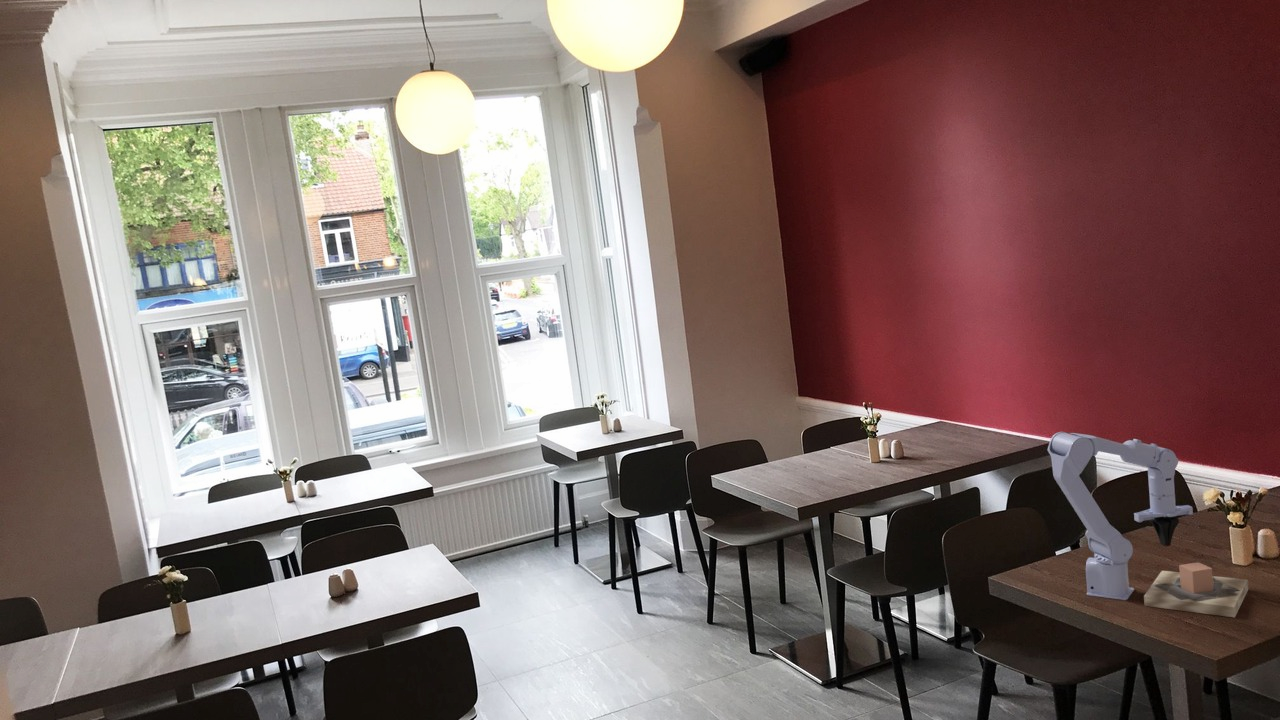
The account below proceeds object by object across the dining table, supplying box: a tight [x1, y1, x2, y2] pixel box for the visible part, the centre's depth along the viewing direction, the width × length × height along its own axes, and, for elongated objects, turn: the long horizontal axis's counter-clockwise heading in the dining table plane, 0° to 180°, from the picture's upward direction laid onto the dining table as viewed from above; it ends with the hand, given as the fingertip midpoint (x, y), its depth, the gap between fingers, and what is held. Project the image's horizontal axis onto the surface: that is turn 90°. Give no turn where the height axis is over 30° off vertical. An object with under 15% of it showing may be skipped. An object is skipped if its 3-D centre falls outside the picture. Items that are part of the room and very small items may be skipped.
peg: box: [1178, 561, 1214, 594], centre depth 234 cm, size 5×5×8 cm
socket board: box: [1143, 570, 1249, 618], centre depth 234 cm, size 19×19×2 cm
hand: (1165, 544), depth 245 cm, fingers closed
